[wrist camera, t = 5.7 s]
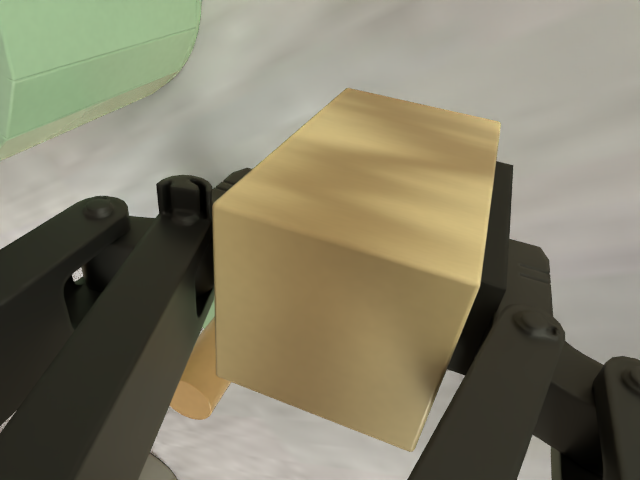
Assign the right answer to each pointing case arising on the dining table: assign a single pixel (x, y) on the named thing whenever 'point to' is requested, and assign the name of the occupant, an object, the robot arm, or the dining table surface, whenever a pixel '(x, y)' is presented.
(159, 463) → the coffee mug
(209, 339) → the lid
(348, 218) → the block
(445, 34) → the dining table surface
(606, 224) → the dining table surface
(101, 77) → the canister
